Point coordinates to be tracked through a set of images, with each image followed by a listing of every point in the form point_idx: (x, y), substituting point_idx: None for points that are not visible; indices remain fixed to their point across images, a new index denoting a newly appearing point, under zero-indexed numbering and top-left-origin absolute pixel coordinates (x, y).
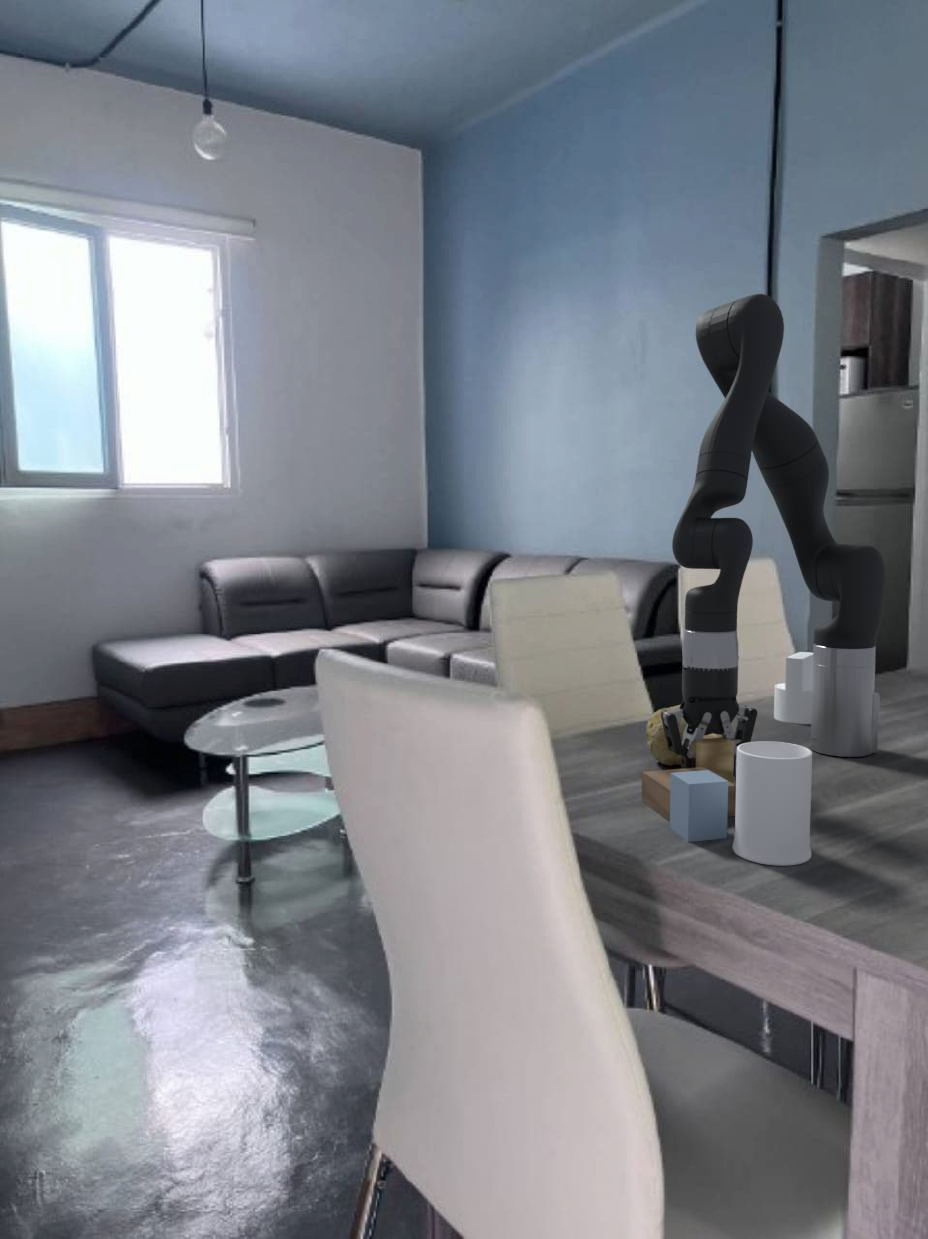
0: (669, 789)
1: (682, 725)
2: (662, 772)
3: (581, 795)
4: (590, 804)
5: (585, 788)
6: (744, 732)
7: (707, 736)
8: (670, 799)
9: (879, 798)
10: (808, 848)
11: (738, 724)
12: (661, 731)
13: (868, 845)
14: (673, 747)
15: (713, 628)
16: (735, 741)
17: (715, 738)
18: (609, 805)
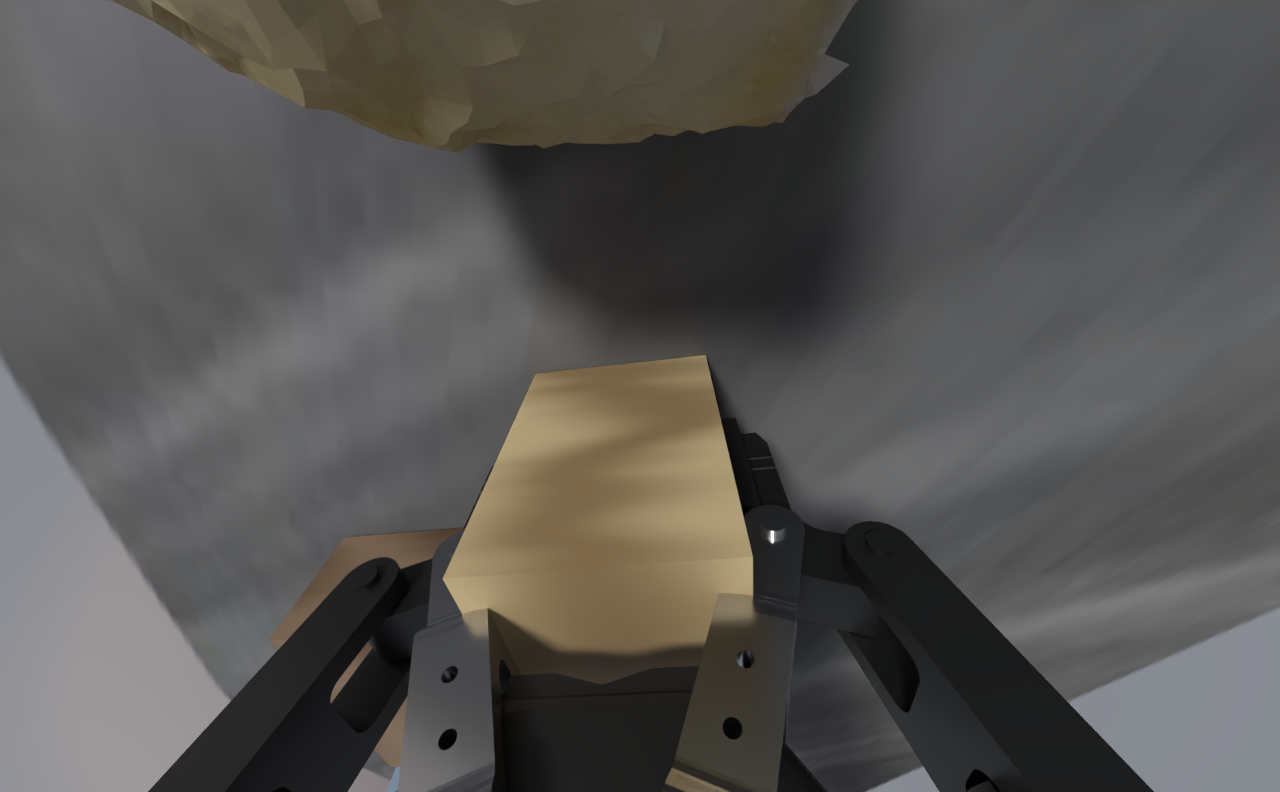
0: (386, 760)
1: (498, 18)
2: (360, 654)
3: (96, 463)
4: (170, 544)
5: (71, 384)
6: (900, 721)
7: (630, 612)
8: (393, 777)
9: (1153, 598)
10: None
11: (960, 708)
12: (205, 50)
13: (808, 769)
14: (368, 659)
15: None
16: (835, 601)
17: (667, 658)
18: (239, 558)
